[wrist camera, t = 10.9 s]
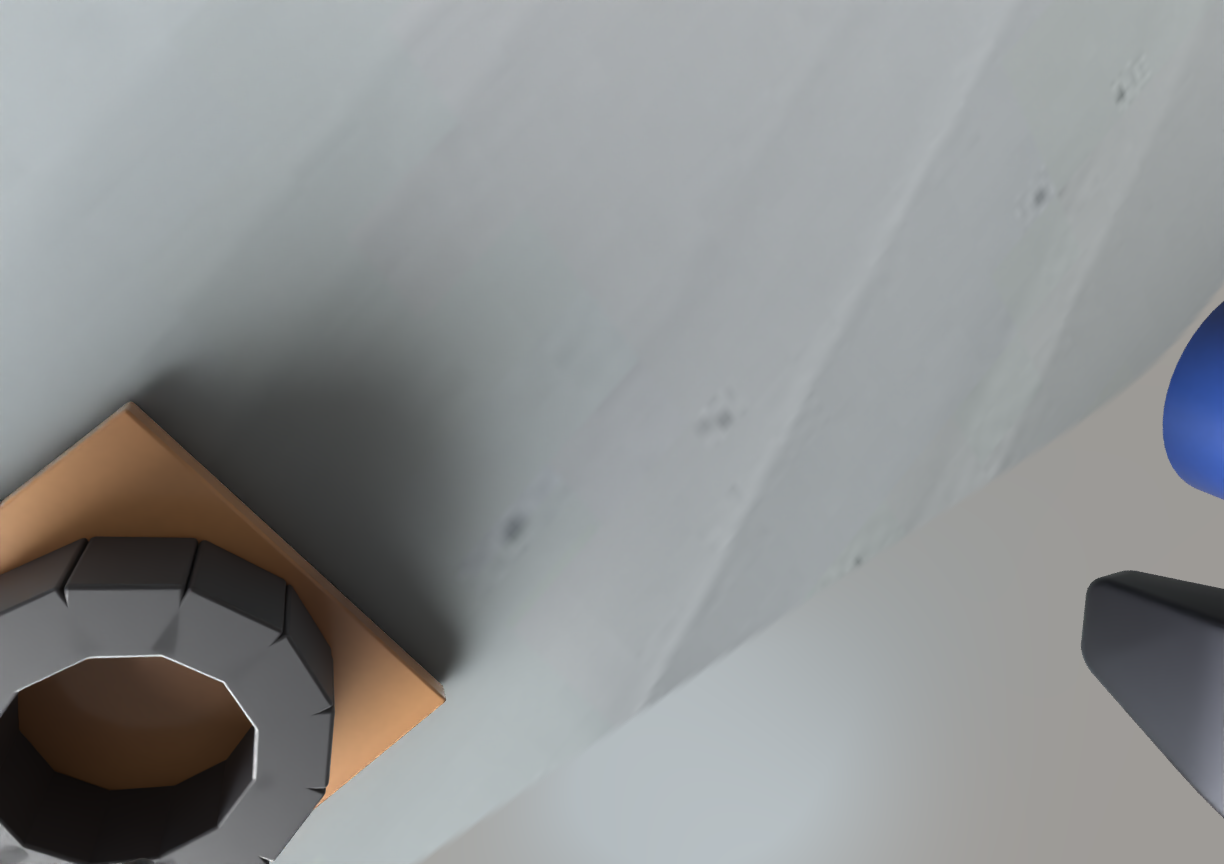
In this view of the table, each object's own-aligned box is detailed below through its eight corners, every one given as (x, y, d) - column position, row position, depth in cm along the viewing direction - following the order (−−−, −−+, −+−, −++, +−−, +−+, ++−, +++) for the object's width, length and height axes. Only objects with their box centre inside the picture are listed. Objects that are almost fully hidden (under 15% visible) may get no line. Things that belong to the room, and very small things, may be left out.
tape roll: (407, 686, 19) (416, 745, 17) (141, 903, 18) (122, 987, 17) (146, 454, 16) (125, 496, 14) (-179, 711, 15) (-245, 788, 14)
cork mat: (443, 685, 20) (447, 701, 19) (164, 915, 19) (159, 938, 19) (131, 398, 16) (125, 408, 15) (-228, 680, 15) (-247, 699, 15)
